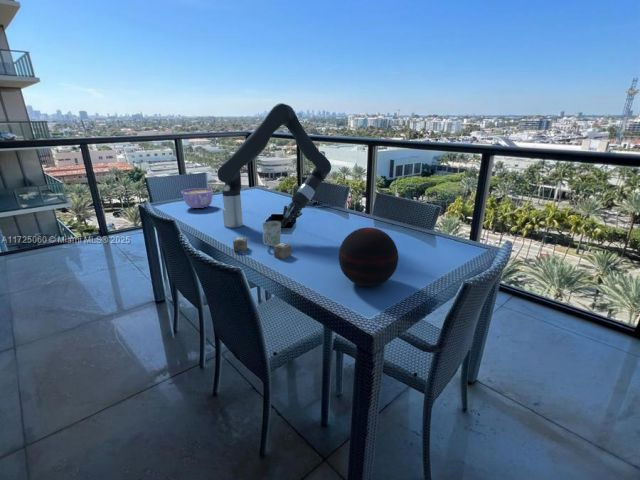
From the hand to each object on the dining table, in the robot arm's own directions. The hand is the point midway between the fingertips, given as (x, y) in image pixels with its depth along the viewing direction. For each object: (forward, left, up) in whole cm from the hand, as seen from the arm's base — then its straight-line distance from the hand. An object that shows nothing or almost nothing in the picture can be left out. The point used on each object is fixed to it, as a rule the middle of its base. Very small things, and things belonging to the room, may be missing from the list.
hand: (282, 225), depth 150 cm
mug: (-4, -5, -9) cm, 11 cm away
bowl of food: (-81, +49, -9) cm, 95 cm away
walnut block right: (+6, -15, -9) cm, 19 cm away
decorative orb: (+44, -30, -9) cm, 54 cm away
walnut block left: (-15, -13, -9) cm, 22 cm away
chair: (-17, +83, -9) cm, 85 cm away
